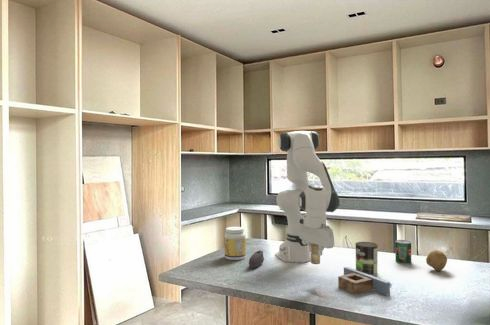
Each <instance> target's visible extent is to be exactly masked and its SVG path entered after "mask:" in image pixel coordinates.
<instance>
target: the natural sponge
mask: <svg viewBox="0 0 490 325" xmlns="http://www.w3.org/2000/svg"><path fill="white" fill-rule="evenodd" d="M425 262H426V264H427V265H428V266H429V267H431V268H432V269H433V270H435V271H437V272H441V271H442V270H444V269H445V267H446V265H447V263H448V257H447V255H446V254H445V253H444V252H442V251H440V250H436V249H435V250H433V251H430V252H428V254H427V257H426V259H425Z"/></svg>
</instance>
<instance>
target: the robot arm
mask: <svg viewBox="0 0 490 325" xmlns="http://www.w3.org/2000/svg"><path fill="white" fill-rule="evenodd" d="M278 136H279V137H278V139H277V144H278V147H279V150H280V151H282V152H285V153H286V152H287V154H286V178H287V180H288V181H289V182H290V183H291V184H293V185H294V189H286V190H282V191H280V192H279V193H278V194H277V195H276V204H277V206H278V207H279V209H281V210H282V211H283V213H284V214H285V217H286V219H287V233H286V234H285V236H286V239H285V241H283V242H282V243H281V244H280V245H279V248H278V249H279V250H278V251H277V252H276V253H275V252H274V253H275V254H274V256H276V257H277V258H279V259H281V260H282V262H285V263H306V262H307V263H308V262H311V244H316V245H319V251H317V255H319V256H320V257H321V256H323V251H324V249H332V248H334V247H335V235H334V229H332V227H331V226H330V225H327V213H334V212H335V211H336V210H337V209H338V208H339V207H340V197H339V195H338V193H337V191H336V189H335V187H334V185H333V182H332V180H331V177H330V174H329V171H328V169H327V166H326V165H325V162H324V161H322V160H320V158H319V157H318V155H317V154H316V150H317V149H318V148H319V144H320V138H319V134H318V133H317V131H312V130H309V131H307V130H297V131H289V132H287V131H285V132H282V133H280V134H279V135H278ZM308 173H310V174H313V175H315V176H316V177H317V178H319V181H320V184H321V185H320V184H310V181H309V178H308ZM301 210H302V211H305V212H306V213H305V216H303V215H302V213H301Z"/></svg>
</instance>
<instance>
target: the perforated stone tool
mask: <svg viewBox="0 0 490 325" xmlns="http://www.w3.org/2000/svg"><path fill="white" fill-rule="evenodd" d="M264 260H265V256H264V251H263V250H260V249H259V250H258V251H255V252H254V253H253V254H252V255H251V256H250V257H249V260H248V267H249V268H250V269H256V268H258V267H259V266H261V265H262V263H264Z"/></svg>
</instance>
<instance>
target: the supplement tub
mask: <svg viewBox="0 0 490 325" xmlns="http://www.w3.org/2000/svg"><path fill="white" fill-rule="evenodd" d="M223 237H224V246H223V248H224V258H225V259H227V260H228V261H241V260H243V259H245V258H246V256H247V255H246V254H247V253H246V251H247V250H246V249H247V248H246V247H247V246H246V245H247V242H246V240H247V239H246V237H247V236H246V233H245V228H244V227H242V226H228V227H226V228H225V233H224V236H223Z"/></svg>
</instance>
